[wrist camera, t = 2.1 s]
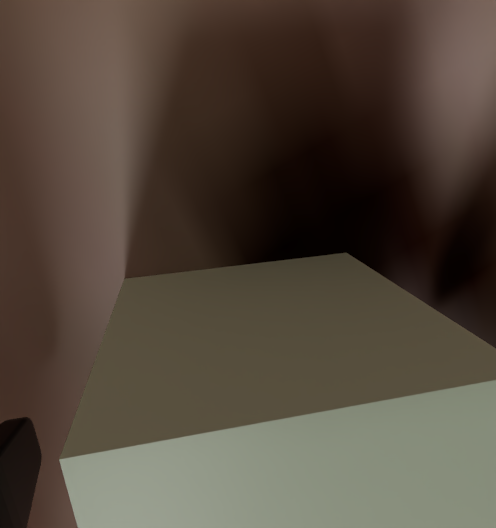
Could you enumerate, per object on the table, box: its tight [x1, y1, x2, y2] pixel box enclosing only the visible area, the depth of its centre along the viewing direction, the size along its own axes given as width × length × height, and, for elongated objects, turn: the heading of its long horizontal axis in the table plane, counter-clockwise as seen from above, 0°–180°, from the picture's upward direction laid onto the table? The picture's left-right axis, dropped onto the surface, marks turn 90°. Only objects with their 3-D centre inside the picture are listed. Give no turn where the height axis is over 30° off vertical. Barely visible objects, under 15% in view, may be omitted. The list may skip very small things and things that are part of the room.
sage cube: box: [59, 253, 496, 528], centre depth 7 cm, size 5×5×5 cm
